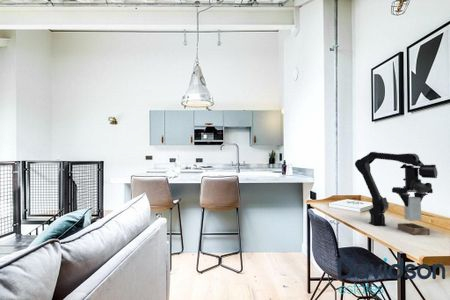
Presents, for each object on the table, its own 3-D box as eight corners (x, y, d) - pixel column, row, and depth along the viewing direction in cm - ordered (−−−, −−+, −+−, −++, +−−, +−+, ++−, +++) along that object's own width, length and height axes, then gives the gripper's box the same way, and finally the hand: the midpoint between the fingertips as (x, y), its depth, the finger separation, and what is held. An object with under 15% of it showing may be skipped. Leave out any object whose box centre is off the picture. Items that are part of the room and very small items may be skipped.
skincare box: (414, 218, 135) (414, 196, 135) (421, 220, 131) (421, 197, 131) (404, 219, 135) (403, 196, 135) (410, 221, 130) (410, 197, 131)
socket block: (413, 235, 126) (413, 229, 126) (397, 229, 136) (397, 223, 137) (429, 234, 127) (429, 228, 127) (412, 228, 137) (412, 223, 137)
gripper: (407, 178, 124) (408, 210, 124) (442, 178, 126) (443, 209, 126) (390, 176, 136) (391, 205, 135) (422, 176, 137) (423, 205, 137)
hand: (412, 206), depth 133 cm, fingers closed on skincare box, 6 cm apart
